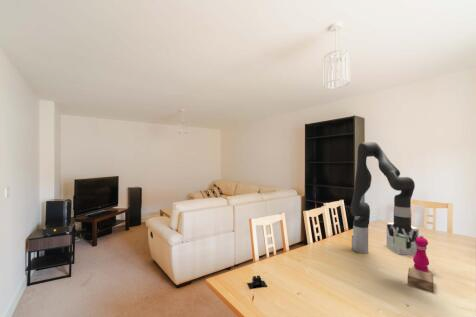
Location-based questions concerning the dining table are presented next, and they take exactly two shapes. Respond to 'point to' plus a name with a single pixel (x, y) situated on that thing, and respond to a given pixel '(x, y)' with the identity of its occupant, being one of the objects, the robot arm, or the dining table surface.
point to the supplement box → (399, 251)
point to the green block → (400, 242)
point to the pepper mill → (421, 254)
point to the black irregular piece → (256, 283)
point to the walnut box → (420, 279)
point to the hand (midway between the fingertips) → (402, 246)
